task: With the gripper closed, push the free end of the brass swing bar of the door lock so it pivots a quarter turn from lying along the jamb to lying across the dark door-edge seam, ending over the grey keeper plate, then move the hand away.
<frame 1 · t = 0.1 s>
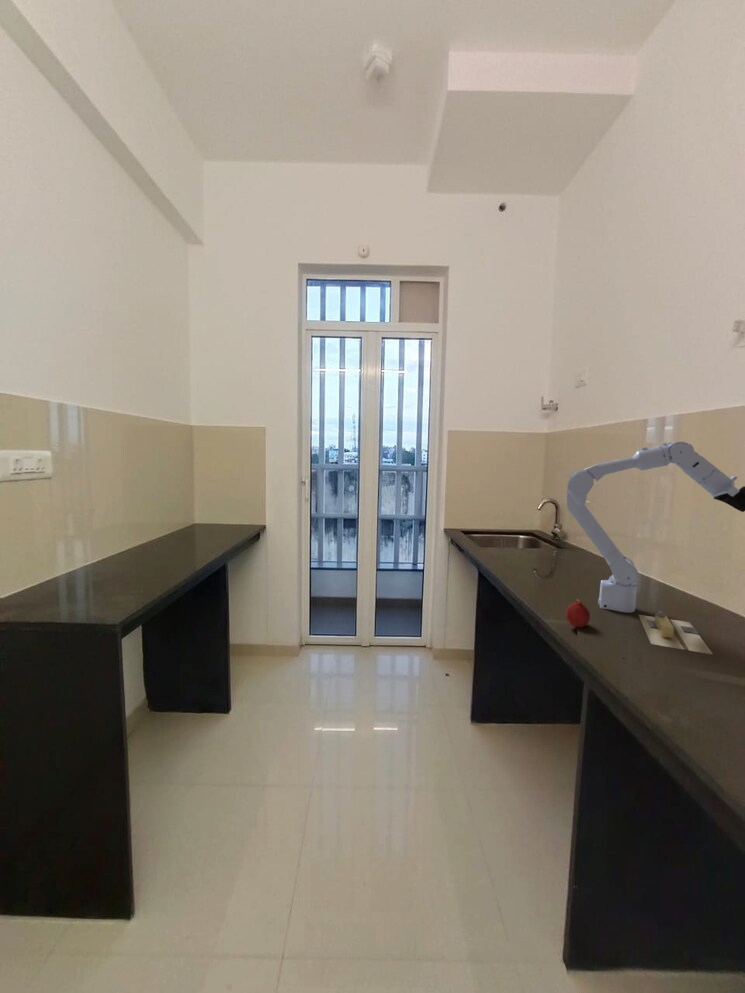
swing bar: (663, 623, 111), point 3 cm above the table, hinge at 0.0°
door board: (671, 636, 111), on the table
onion: (576, 629, 115), on the table
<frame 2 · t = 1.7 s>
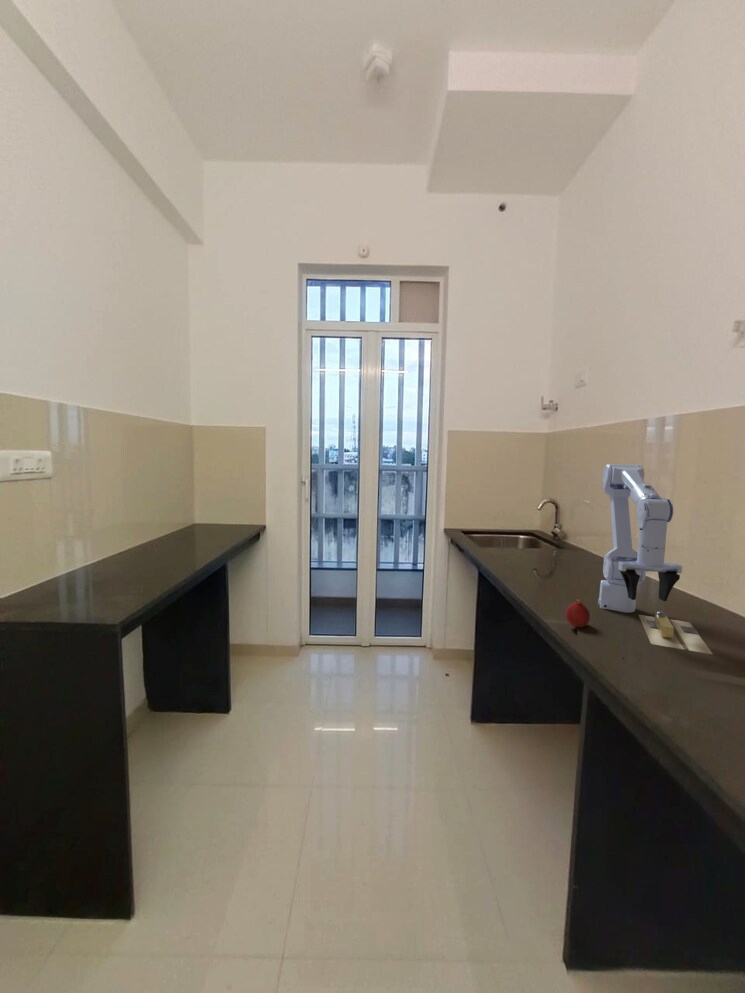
hand: (647, 599, 110), 10 cm above the table, tool pointing down, fingers open, 7 cm apart
nothing on the table moved.
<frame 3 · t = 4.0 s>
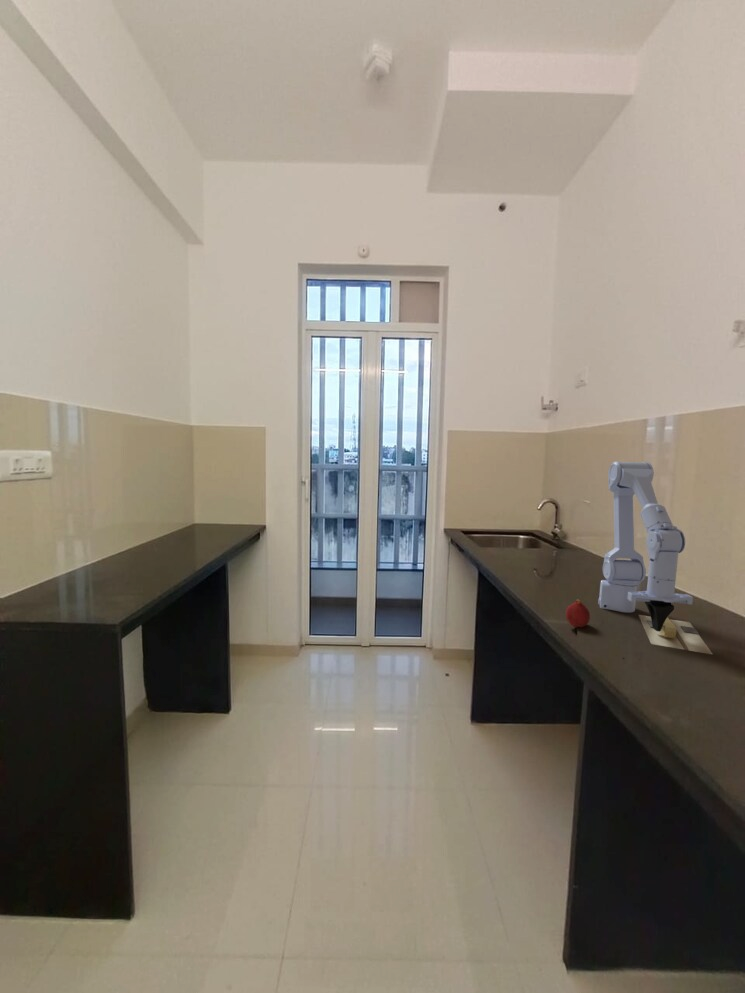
hand: (656, 629, 109), 2 cm above the table, tool pointing down, fingers closed
swing bar: (664, 623, 111), point 3 cm above the table, hinge at 4.0°, touching gripper
everything else where it was.
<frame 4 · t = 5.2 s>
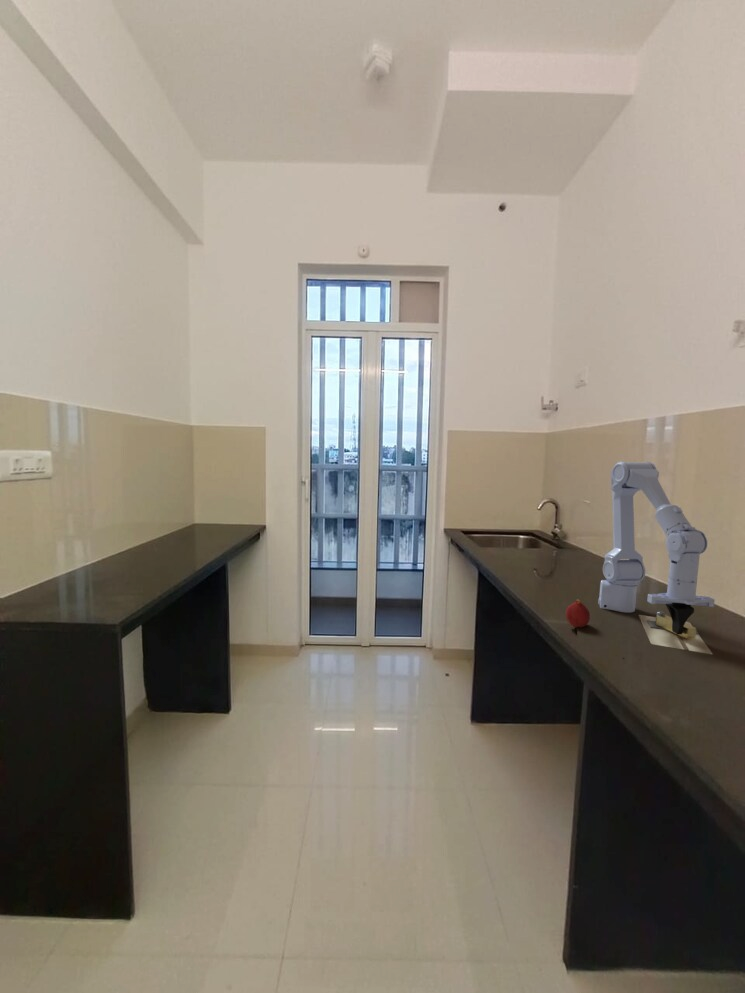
hand: (677, 632, 108), 2 cm above the table, tool pointing down, fingers closed, pressing on swing bar
swing bar: (673, 624, 111), point 3 cm above the table, hinge at 36.1°, touching gripper
everything else where it was.
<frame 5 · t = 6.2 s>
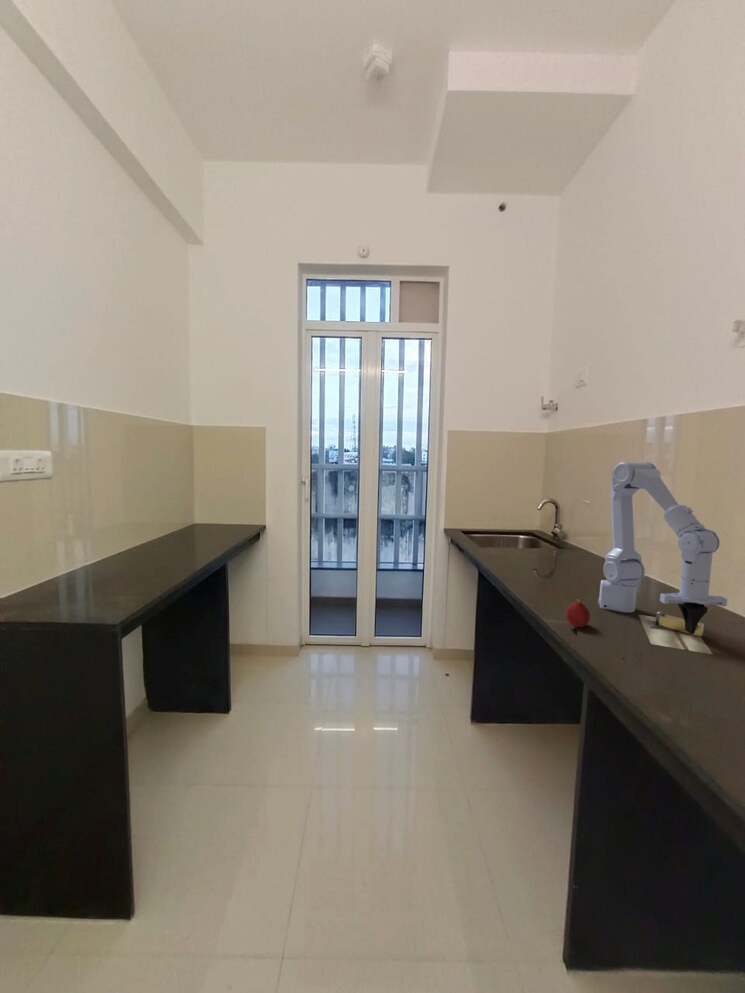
hand: (689, 632, 108), 2 cm above the table, tool pointing down, fingers closed, pressing on swing bar
swing bar: (678, 622, 112), point 3 cm above the table, hinge at 68.2°, touching gripper
everything else where it was.
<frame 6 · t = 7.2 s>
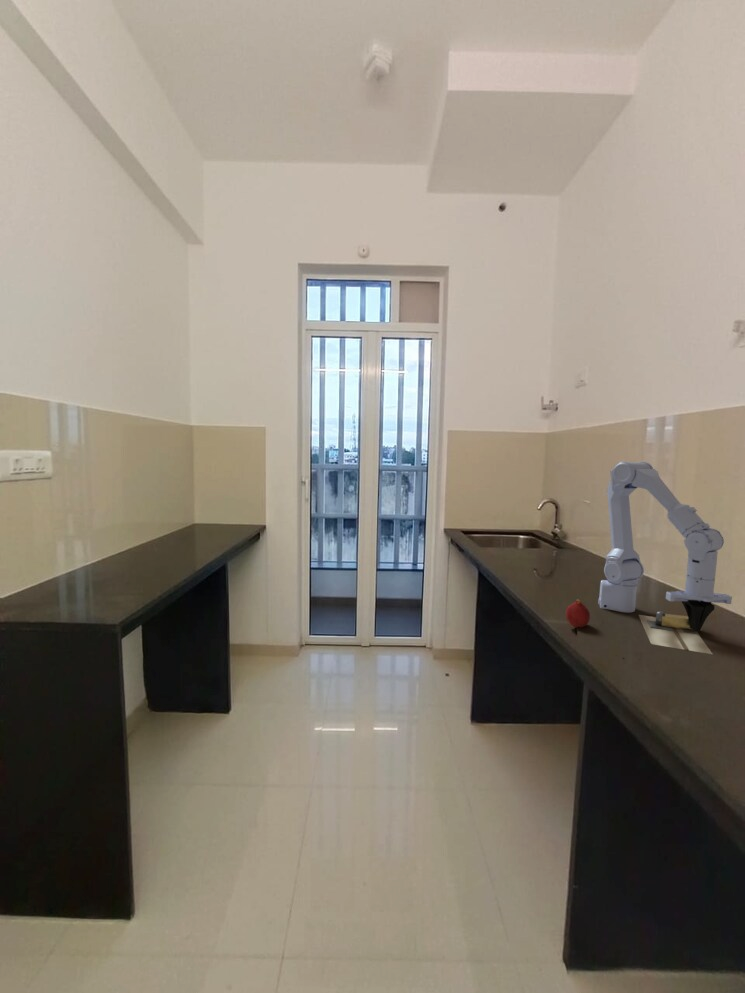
hand: (695, 629, 110), 2 cm above the table, tool pointing down, fingers closed
swing bar: (678, 620, 113), point 3 cm above the table, hinge at 97.8°, touching gripper
everything else where it was.
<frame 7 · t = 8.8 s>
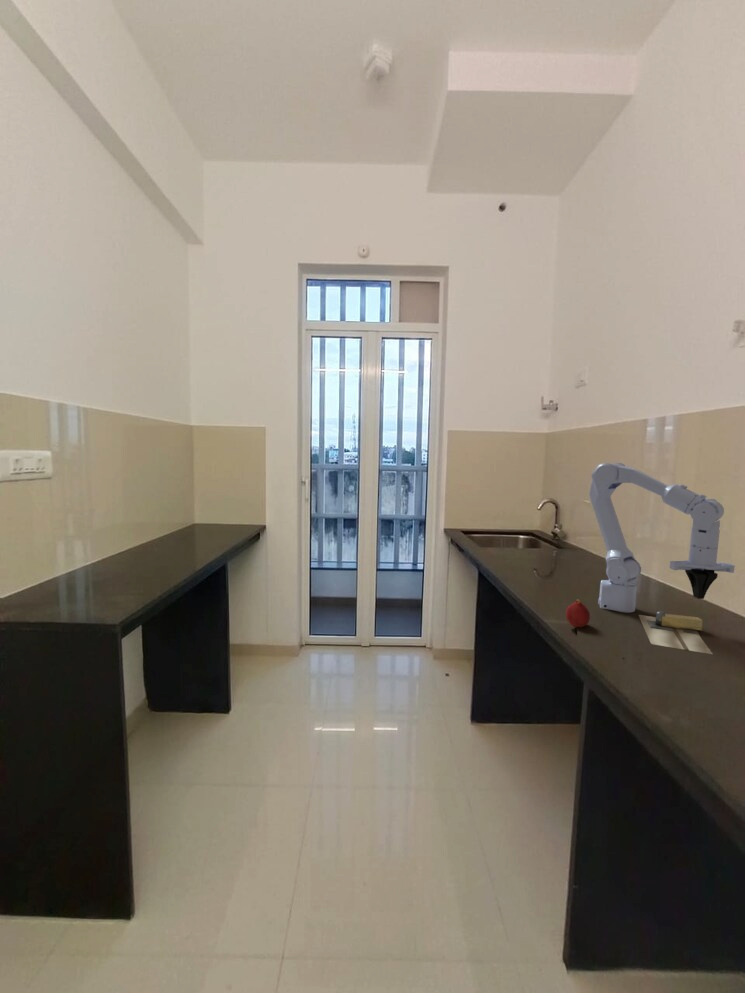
hand: (698, 597, 113), 9 cm above the table, tool pointing down, fingers closed
swing bar: (678, 620, 113), point 3 cm above the table, hinge at 97.9°
everything else where it was.
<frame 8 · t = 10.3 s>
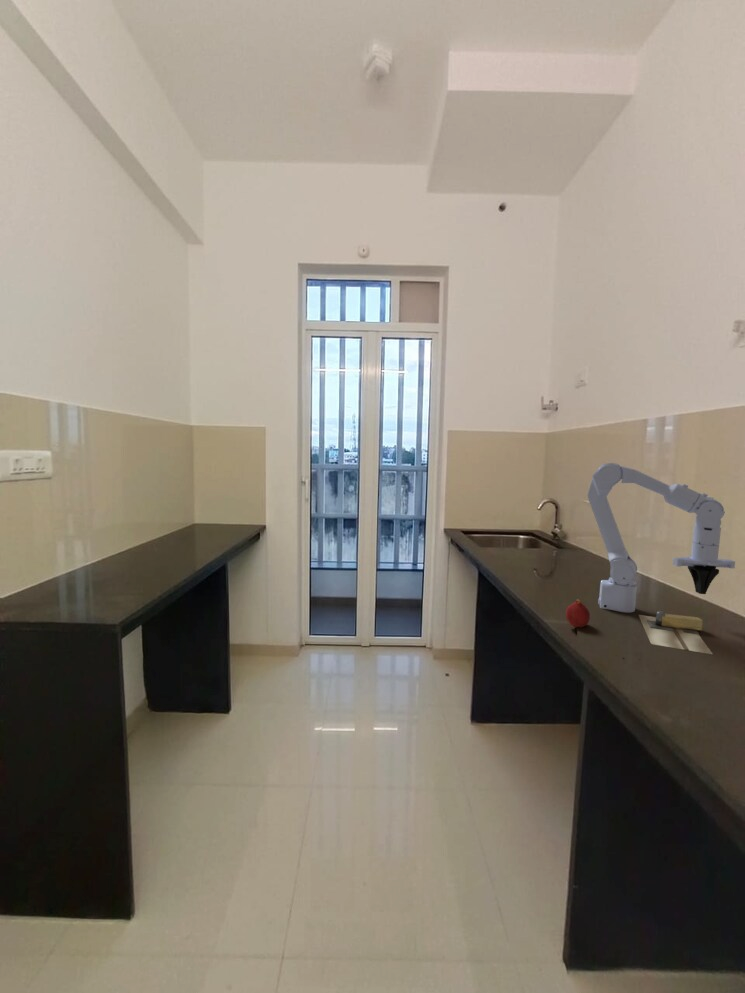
hand: (700, 592, 117), 9 cm above the table, tool pointing down, fingers closed
nothing on the table moved.
at the end: swing bar at +98° (first picture: +0°) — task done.
